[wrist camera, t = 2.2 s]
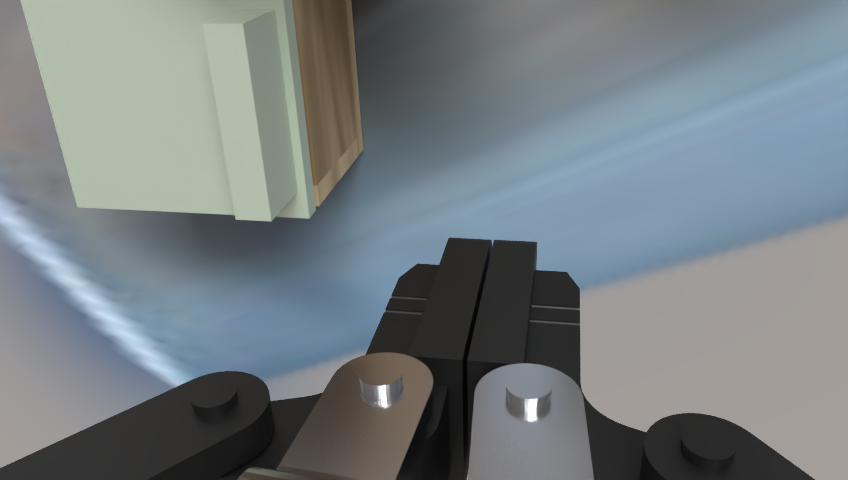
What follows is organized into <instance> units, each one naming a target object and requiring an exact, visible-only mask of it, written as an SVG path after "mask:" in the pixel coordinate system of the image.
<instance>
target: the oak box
mask: <svg viewBox="0 0 848 480" xmlns="http://www.w3.org/2000/svg"><path fill="white" fill-rule="evenodd" d="M292 5H293V14H294V22H295V31H296V40H297V49H298V57H299V66H300V75H301V84H302V92H303V101H304V110H305V119H306V127H307V136H308V145H309V153H310V162H311V171H312V180H313V188H314V197H315V206H320V205H321V203H322V202H323V201H324V199H325V198H326V197H327V196H328V194H329V193H330V192H331V191H332V189H333V188H334V187H335V185H336V184H337V183H338V182H339V180H340V179H341V178H342V176H343V175H344V174H345V173H346V171H347V170H348V169H349V168H350V166H351V165H352V164H353V162H354V161H355V160H356V159H357V157H358V156H359V155H360V153H361V152H362V151H363V139H362V127H361V114H360V102H359V89H358V76H357V64H356V51H355V39H354V26H353V13H352V1H351V0H292Z"/></svg>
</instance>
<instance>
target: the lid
mask: <svg viewBox="0 0 848 480" xmlns="http://www.w3.org/2000/svg"><path fill="white" fill-rule="evenodd" d="M21 3H22V7H23V11H24V14H25V18H26V22H27V25H28V29H29V32H30V36H31V40H32V43H33V47H34V51H35V54H36V58H37V62H38V65H39V69H40V72H41V76H42V80H43V83H44V87H45V91H46V94H47V98H48V102H49V105H50V109H51V112H52V116H53V120H54V123H55V127H56V131H57V134H58V138H59V142H60V145H61V149H62V153H63V156H64V160H65V163H66V167H67V171H68V174H69V178H70V182H71V185H72V189H73V193H74V196H75V200H76V203H77V207H83V208H103V209H123V210H144V211H164V212H185V213H205V214H225V215H235V219H236V220H253V221H272V220H273V219H274V218H275V217H287V218H307V219H310V217H311V216H312V215H313V214H314V212H315V211H316V206H315V197H314V188H313V180H312V171H311V162H310V153H309V145H308V136H307V127H306V119H305V110H304V101H303V92H302V84H301V75H300V66H299V57H298V49H297V40H296V31H295V22H294V14H293V5H292V0H21Z"/></svg>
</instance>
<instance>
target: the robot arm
mask: <svg viewBox="0 0 848 480" xmlns="http://www.w3.org/2000/svg"><path fill="white" fill-rule="evenodd" d="M536 261H537V242H527V241H506V240H494V243H493V247H492V241H491V240H484V239H463V238H449V239H448V242H447V244H446V247H445V250H444V253H443V256H442V259H441V262H440V265H430V264H416V265H415V266H414V267H413V268H411V269H410V270H409V271H407V272H406V273H405V274H404V275H402V276H401V277H400V278H399V279H398V282H397V284H396V286H395V289H394V291H393V293H392V298H390V300H389V302H388V305H387V307H386V312H385V313H384V314H383V316H382V318H381V321H380V323H379V325H378V327H377V330H376V332H375V334H374V337H373V339H372V341H371V344H370V346H369V348H368V350H367V353H366V355H364V356H361V357H358V358H355V359H353V360H351V361H349V362H347V363H346V364H345V365H343V366H342V367H341V368H339V369H338V370H337V371H336V373H335V374H334V375H333V377H332V378H331V380H330V382H329V383H328V385H327V387H326V388H325V390H324V392H323V393H320V394H317V395H312V396H307V397H300V398H292V399H285V400H277V401H270V395H269V390H268V388H267V386H266V384H265V383H264V382H263V381H262V380H261V379H259V378H258V377H256V376H254V375H251V374H248V373H244V372H237V371H225V372H216V373H211V374H207V375H204V376H201V377H198V378H196V379H193V380H191V381H189V382H186V383H184V384H182V385H180V386H178V387H176V388H173V389H171V390H169V391H167V392H165V393H163V394H160V395H159V396H156V397H154V398H152V399H149V400H147V401H145V402H143V403H141V404H139V405H137V406H134V407H132V408H130V409H128V410H126V411H123V412H121V413H119V414H117V415H115V416H113V417H110V418H108V419H106V420H104V421H102V422H100V423H97V424H95V425H93V426H91V427H89V428H87V429H85V430H82V431H80V432H78V433H76V434H74V435H71V436H69V437H67V438H65V439H63V440H61V441H58V442H56V443H54V444H52V445H50V446H48V447H45V448H43V449H41V450H39V451H37V452H35V453H33V454H30V455H28V456H26V457H24V458H22V459H19V460H17V461H15V462H13V463H11V464H9V465H6V466H4V467H2V468H0V480H467V475H468V480H815V479H813V478H812V477H810V476H809V475H808V474H806V473H805V472H804V471H802V470H801V469H800V468H798V467H797V466H795V465H794V464H793V463H791V462H790V461H788V460H787V459H785V458H784V457H783V456H782V455H780V454H779V453H777V452H776V451H775V450H773V449H772V448H770V447H769V446H768V445H766V444H765V443H764V442H762V441H761V440H759V439H758V438H757V437H755V436H754V435H753V434H751V433H750V432H748V431H747V430H745V429H743V428H742V427H740V426H738V425H736V424H734V423H732V422H730V421H727V420H724V419H721V418H718V417H715V416H711V415H705V414H696V413H685V414H684V413H683V414H676V415H671V416H668V417H665V418H662V419H660V420H659V421H657V422H655V424H653V425H652V426H651V427H650V428H649V430H648V431H647V433H646V432H643V431H640V430H637V429H634V428H630V427H627V426H625V425H622V424H619V423H617V422H615V421H613V420H611V419H609V418H607V417H606V416H604V415H602V414H601V413H600V412H598V411H597V410H596V409H595V408H594V407H593V406H592V405H591V404H590V403H589V402H588V401H587V400H586V398H585V396H584V394H583V392H582V389H581V384H580V288H579V287H578V286H577V285H576V283H575V282H574V281H573V279H572V278H571V277H570V276H569V274H568V273H567V272H557V271H539V270H536ZM468 469H469V471H468Z"/></svg>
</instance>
